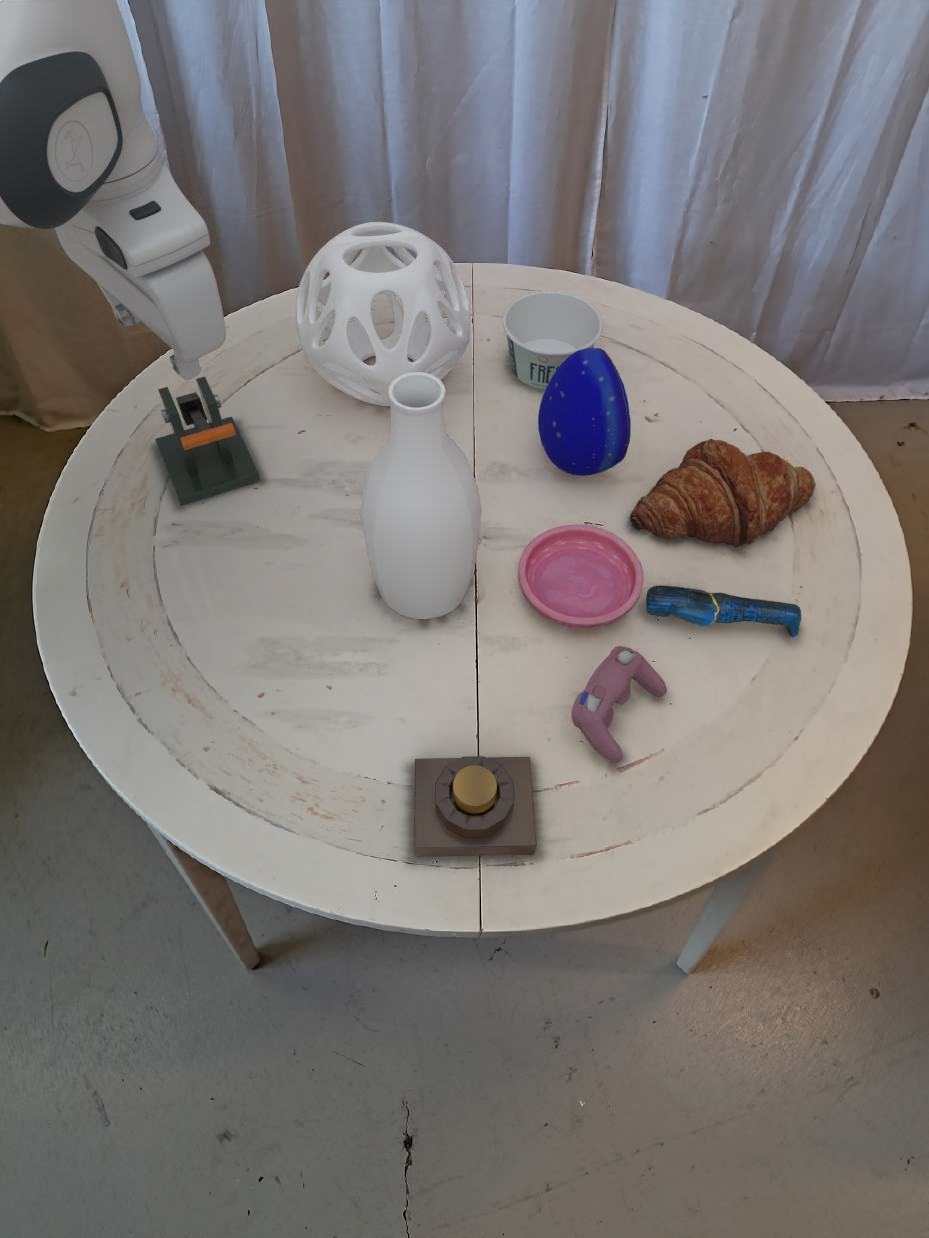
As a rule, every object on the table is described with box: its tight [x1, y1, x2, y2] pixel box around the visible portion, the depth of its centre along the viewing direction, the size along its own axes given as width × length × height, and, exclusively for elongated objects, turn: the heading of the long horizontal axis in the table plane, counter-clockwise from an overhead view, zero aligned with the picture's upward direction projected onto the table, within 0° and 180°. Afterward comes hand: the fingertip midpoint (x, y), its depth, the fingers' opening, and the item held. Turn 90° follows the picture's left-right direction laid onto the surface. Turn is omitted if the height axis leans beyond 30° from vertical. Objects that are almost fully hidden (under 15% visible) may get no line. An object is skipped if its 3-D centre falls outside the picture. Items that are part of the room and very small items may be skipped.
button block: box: [413, 755, 537, 858], centre depth 74 cm, size 10×8×4 cm
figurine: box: [645, 584, 802, 638], centre depth 87 cm, size 5×4×15 cm
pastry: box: [629, 438, 817, 548], centre depth 93 cm, size 17×15×8 cm
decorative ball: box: [295, 221, 472, 408], centre depth 101 cm, size 20×20×17 cm
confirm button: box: [453, 765, 497, 814], centre depth 72 cm, size 4×4×2 cm
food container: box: [501, 290, 604, 391], centre depth 107 cm, size 12×12×6 cm
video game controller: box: [570, 645, 668, 763], centre depth 80 cm, size 10×5×7 cm, turn 145°
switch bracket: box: [154, 376, 261, 506], centre depth 95 cm, size 10×9×10 cm
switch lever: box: [175, 391, 236, 450], centre depth 89 cm, size 13×5×2 cm, turn 26°
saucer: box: [517, 524, 644, 629], centre depth 89 cm, size 12×12×3 cm
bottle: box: [359, 372, 483, 620], centre depth 79 cm, size 11×11×25 cm
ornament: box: [537, 347, 632, 477], centre depth 94 cm, size 11×9×15 cm
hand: (158, 346), depth 76 cm, fingers open, 8 cm apart
